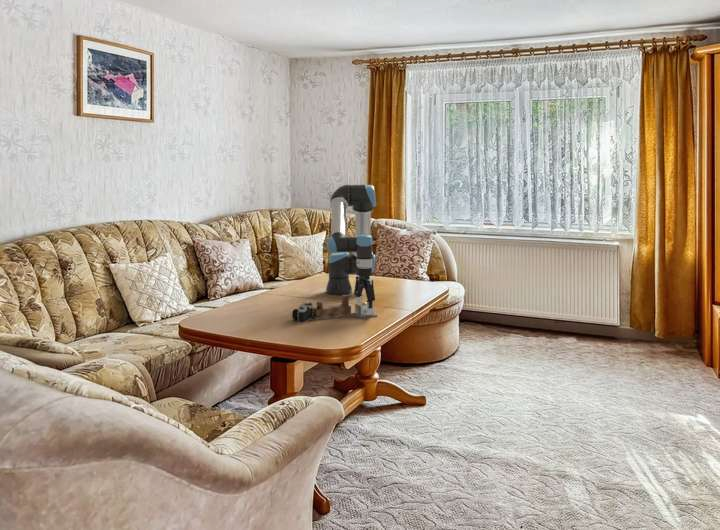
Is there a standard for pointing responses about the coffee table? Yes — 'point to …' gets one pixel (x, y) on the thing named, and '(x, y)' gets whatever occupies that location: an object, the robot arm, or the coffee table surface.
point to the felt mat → (364, 316)
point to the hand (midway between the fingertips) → (364, 312)
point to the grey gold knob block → (362, 309)
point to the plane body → (332, 309)
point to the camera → (303, 312)
